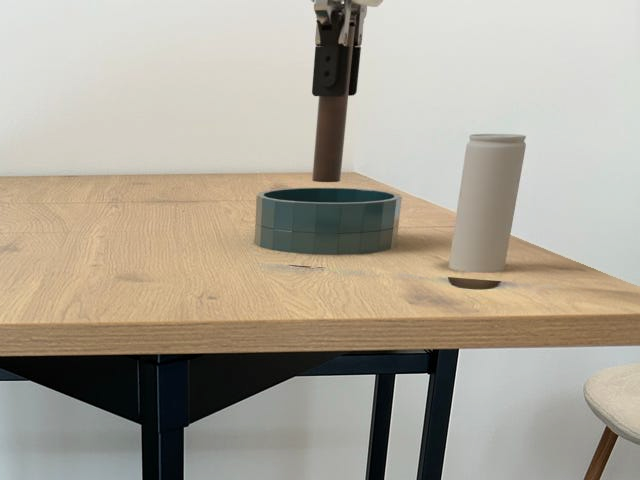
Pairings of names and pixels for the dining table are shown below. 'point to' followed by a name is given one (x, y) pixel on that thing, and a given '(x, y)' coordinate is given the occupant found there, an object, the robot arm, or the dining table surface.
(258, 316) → the dining table surface
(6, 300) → the dining table surface
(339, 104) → the stick
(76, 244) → the dining table surface
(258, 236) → the bowl
